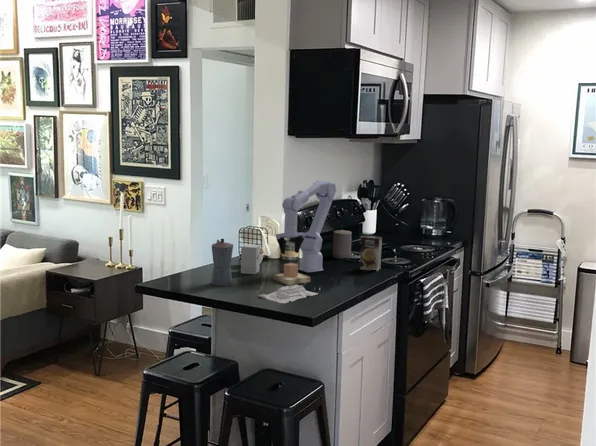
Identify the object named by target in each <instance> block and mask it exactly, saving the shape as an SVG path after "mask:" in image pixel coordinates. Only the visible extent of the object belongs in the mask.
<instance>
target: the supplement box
mask: <svg viewBox="0 0 596 446" xmlns="http://www.w3.org/2000/svg"><path fill="white" fill-rule="evenodd" d="M260 247H261V245H259V244H244V245H243V246H241V248H240V249H241V251H240V273H241V274H247V275H256V274H257V273H258V272H260V264H261V263H260V249H261V248H260Z"/></svg>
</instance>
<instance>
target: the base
mask: <svg viewBox="0 0 596 446" xmlns="http://www.w3.org/2000/svg"><path fill="white" fill-rule="evenodd" d="M272 279H273V280H274V281H277V282H279V283H282V284H284V285H285V286H291V285H299V284H304V283H311V276H310V275H309V276H308V275H307V274H303V273H300V272H298V276H294V277H288V276H285V275H284V272H282V273H275V274H273V275H272Z"/></svg>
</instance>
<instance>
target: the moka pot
mask: <svg viewBox="0 0 596 446" xmlns="http://www.w3.org/2000/svg"><path fill="white" fill-rule="evenodd" d="M233 249H234V244H233V243H230V242H225V238H221V239H220V240H219V239H217V240H216V243H212V244H211V253H212V263H213V269H212V275H211V276H212V277H211V282H210V283H211V284H212V286H216V287H228V286H231V285H232V284H233V278H232V269H231V263H232V257H233Z"/></svg>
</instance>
